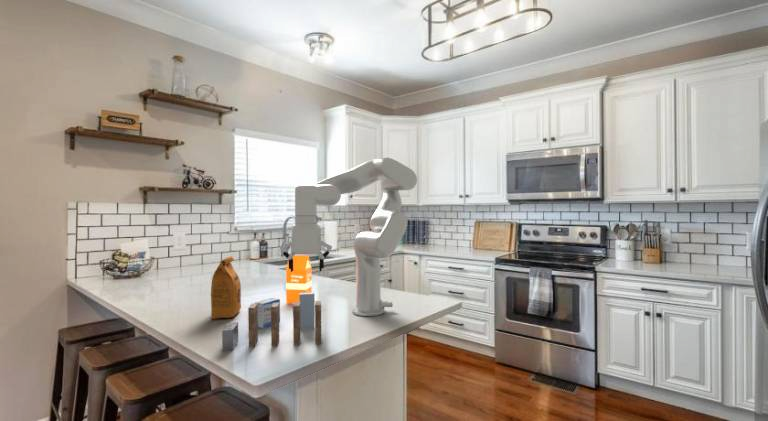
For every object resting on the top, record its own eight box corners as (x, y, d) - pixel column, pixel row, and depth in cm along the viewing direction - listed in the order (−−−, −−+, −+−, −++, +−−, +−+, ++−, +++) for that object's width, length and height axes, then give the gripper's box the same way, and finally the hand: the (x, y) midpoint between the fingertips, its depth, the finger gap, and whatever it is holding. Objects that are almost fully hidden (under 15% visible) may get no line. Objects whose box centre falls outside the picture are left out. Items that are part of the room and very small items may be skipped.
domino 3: (300, 339, 122) (300, 301, 122) (299, 345, 117) (299, 305, 117) (294, 339, 122) (294, 301, 122) (293, 345, 117) (293, 306, 117)
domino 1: (257, 341, 120) (257, 303, 120) (255, 347, 115) (254, 307, 115) (251, 341, 120) (251, 303, 120) (248, 348, 115) (248, 307, 115)
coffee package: (245, 310, 154) (244, 255, 154) (234, 320, 142) (233, 260, 141) (220, 310, 154) (219, 255, 153) (206, 320, 141) (206, 260, 141)
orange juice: (292, 298, 173) (292, 254, 173) (311, 299, 172) (311, 254, 171) (286, 303, 165) (285, 256, 165) (305, 303, 164) (305, 257, 164)
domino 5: (321, 338, 123) (321, 300, 123) (321, 343, 118) (321, 305, 118) (315, 338, 123) (315, 301, 123) (315, 344, 118) (315, 305, 118)
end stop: (238, 341, 120) (238, 322, 120) (233, 350, 113) (232, 329, 113) (228, 342, 120) (228, 322, 120) (222, 350, 113) (222, 330, 113)
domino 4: (299, 327, 133) (299, 293, 133) (314, 327, 134) (314, 292, 134) (299, 329, 132) (299, 294, 131) (314, 328, 132) (314, 293, 132)
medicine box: (263, 329, 132) (262, 303, 132) (254, 326, 134) (254, 302, 134) (280, 322, 139) (280, 298, 139) (271, 320, 141) (271, 297, 141)
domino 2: (279, 340, 121) (279, 302, 121) (277, 346, 116) (277, 306, 116) (273, 340, 121) (273, 302, 121) (271, 346, 116) (271, 307, 116)
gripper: (331, 220, 137) (331, 268, 137) (281, 220, 134) (281, 269, 135) (332, 221, 129) (332, 272, 130) (278, 221, 127) (279, 273, 127)
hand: (306, 270), depth 132 cm, fingers open, 9 cm apart
